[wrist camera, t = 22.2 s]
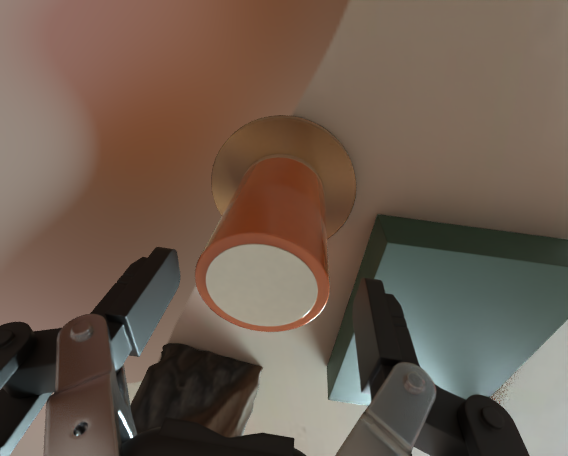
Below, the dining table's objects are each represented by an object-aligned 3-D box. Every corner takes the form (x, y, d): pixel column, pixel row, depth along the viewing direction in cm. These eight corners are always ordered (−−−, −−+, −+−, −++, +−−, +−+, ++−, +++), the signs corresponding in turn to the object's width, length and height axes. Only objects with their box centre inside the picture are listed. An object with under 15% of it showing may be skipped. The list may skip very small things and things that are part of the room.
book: (377, 213, 21) (387, 242, 18) (572, 239, 20) (615, 272, 17) (326, 367, 32) (328, 400, 29) (452, 385, 31) (467, 420, 28)
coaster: (211, 105, 18) (207, 107, 17) (372, 125, 17) (374, 129, 17) (216, 236, 23) (213, 242, 22) (338, 253, 23) (339, 259, 22)
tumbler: (288, 140, 20) (134, 167, 15) (425, 199, 14) (248, 288, 8) (282, 210, 24) (154, 255, 18) (391, 284, 17) (247, 392, 11)
